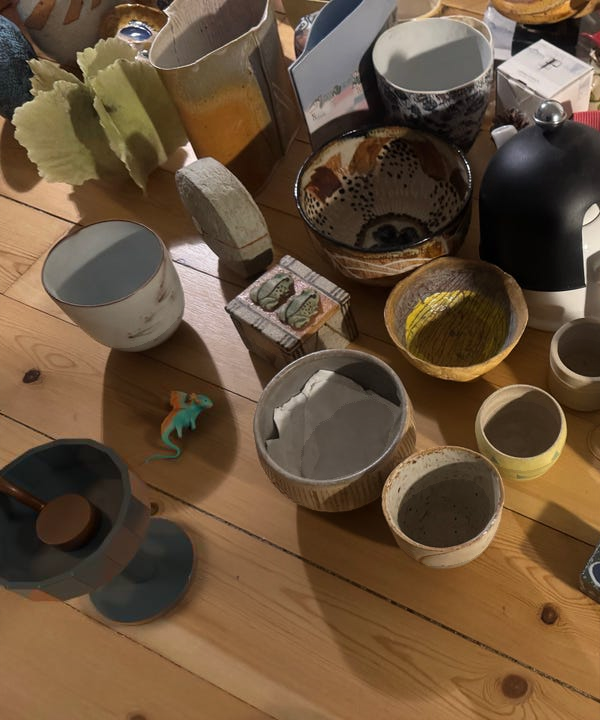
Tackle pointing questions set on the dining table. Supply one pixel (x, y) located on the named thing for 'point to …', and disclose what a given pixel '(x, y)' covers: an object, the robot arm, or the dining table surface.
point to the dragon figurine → (182, 416)
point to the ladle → (60, 517)
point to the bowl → (109, 546)
